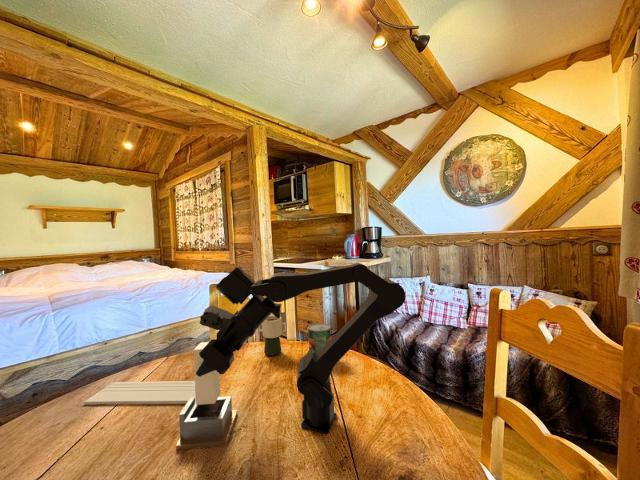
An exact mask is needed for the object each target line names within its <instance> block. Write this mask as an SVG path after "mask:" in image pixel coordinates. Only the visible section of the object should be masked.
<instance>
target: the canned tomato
mask: <svg viewBox="0 0 640 480" xmlns="http://www.w3.org/2000/svg"><path fill="white" fill-rule="evenodd" d="M307 329H308V330H307V331H308V350H309V349H310V348H312V349H313V350H314V351H315V352H316V351H318V350H320V349H322V348H323V347H324V346H325V345H326V344H327V343H328V342H329V341H330V340H331V339H332V336H331V333H332V331H331V325H330V324H328V323H323V322H319V323H318V322H317V323H313V324H310V325H309V326H308V327H307Z"/></svg>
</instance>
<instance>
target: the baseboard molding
mask: <svg viewBox="0 0 640 480" xmlns="http://www.w3.org/2000/svg"><path fill="white" fill-rule="evenodd" d="M191 397H195V401H196V394H195V380H180V381H179V380H174V381H173V380H170V381H169V380H168V381H167V380H166V381H162V380H161V381H115V382H110V383H109V384H108V385H107V386H104V388H103V389H101V390H99V391H98V392H97V393H95V394H93V395H92V396H90V397H89V398H87V399H86V400H85V401H83V404H84V405H85V406H86V405H89V406H90V405H91V406H92V405H95V406H96V405H97V404H98V406H99V405H100V404H107V405H186V404H187V402H188V401H189V399H190V398H191ZM100 406H101V405H100Z"/></svg>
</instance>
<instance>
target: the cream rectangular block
mask: <svg viewBox="0 0 640 480" xmlns="http://www.w3.org/2000/svg"><path fill="white" fill-rule="evenodd" d="M209 342H210V341H206V342H205V341H204V342H202V341H201V342H200V343H198V345H197V346H196V347H195V348H194V349H193V362H194V363H193V366H194V381H195V394H196V405H202V404H215V402H216V400H217V399H218V397H220V394H221V374H219V373H218V372H217V371H216V370H215V371H212V372H210V373H207V374H205V375H202V376H200V377H199V376H198V375H196V372H197V370H198V369H199V367H200V366H201V364H202V362H203V361H204V360H203V359H202V358H201V357H200V355H199V353H200V352H201V351H202V349H203V348H204V347H205V346H206V345H207V344H208V343H209Z"/></svg>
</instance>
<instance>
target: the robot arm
mask: <svg viewBox="0 0 640 480" xmlns="http://www.w3.org/2000/svg"><path fill="white" fill-rule="evenodd" d="M353 283H360V284H361V285H362V286H365V287H366V288H367V289H368V290H370V291H369V292H368V294H367V296H366V299H365V300H364V303H363V305H362V306H361V307H360V308H359V309H358V310H357V312H355V314H353V315H352V316H351V317H350V319H349V320H348V321H347V322H346V323H345V324H344V325H343V326H342V327H341V328H340V330H338V331H337V332H336V334H334V335H333V337H331V340H330V341H329V342H328V343H327V344H326V345H325V346H324V347H323V348H322V349H320V350H318V351H316V352H315V351H314V350H313V349H312V348H310V349H309V348H308V351H307V352H306V353H305V355H303V356H302V357H300V358H299V364H298V365H297V371H296V373H297V374H296V388H297V390H298V392H299V393H300V394H301V395H303V399H302V400H301V401H302V402H301V407H302V408H301V409H302V410H301V411H302V414H301V417H302V419H303V420H302V422H301V425H300V426H301V427H302V428H304V429H308V430H311V431H315V432H318V433H322V434H325V435H326V434H329V433H330V430H331V429H332V426H333V425H334V422H335V421H336V418H337V417H338V414H337V413H336V412H335V397H334V395H335V394H334V392H333V389H332V383H331V377H330V376H331V374H332V372H333V370H334V368H335V366H336V365H337V364H338V363H339V361H340V360H341V359H343V357H344V356H345V355H346V354H347V353H348V352H349V351H350V350H351V349H352V348H354V346H355V345H356V343H357V342H358V341H360V339H361V338H362V337H363V336H364V335H365V334H366V333H367V332H368V331H369V330H370V328H371V327H372V326H373V325H374V324H376V323H377V321H378V320H381V319H383V318H385V317H387V316H390V315H392V313H394V312H395V311H397V310H398V309H400V308H401V307H402V306H403V305H404V303H405V302H406V292H405V289H404V287H403V286H402V285H401V284H399V283H397V282H395V281H393V280H391V279H389V278H382V277H381V276H379V275H378V274H376V273H375V272H373V271H372V270H371V269H369V268H368V266H367V265H365V264H363V263H361V262H355V263H352V264H349V265H342V266H338V267H332V268H327V269H321V270H320V269H319V270H315V271H314V270H313V271H311V272H310V271H309V272H286V271H285V272H283V271H282V272H276V273H274V274H272V275H271V277H270V278H269V277H268V278H264V279H259V280H257V281H255V280H253V279H252V277H250V275H249V274H247V272H245V270H244V269H243V268H242V267H241V266H240V265H239V266H236V267H235V268H234V269H233V270H232V271H231V272H229V273H228V274H227V275H226V276H224V277H223V278H222V279H221V280H220V281H219V282H218V283H217V284H216V286H215V289H216V290H217V291H219V293H221V295H223V296H224V297H225V298H226V299H227V300H228V302H230V303H231V304H233V305H238V304H239V305H242V304H243V303H244V302H245V301H246V300H247V299H248V298H249V297H250V296H251V295H252V297H251V298H250V299H249V300H248V301H247V302H246V303H245V304H244V305H243V307H241V308H240V310H236V311H235V313H232V312H230V311H228V310H226V309H223V308H221V307H218V306H216V305H209V306H208V307H206V308H204V311H203V313H202V315H200V317H199V318H200V320H199V325H201V326H203V327H207V328H210V329H214V330H215V331H216V330H217V332H216V339H210V341H208V342H209V343H208V344H207V345H206V346H205V347H204V348H203V349H202V351H201V352H200V353H199V355H200V357H201V358H202V359H203V360H204V361H203V362H202V364H201V366H200V367H199V369H198V370H197V372H196V375H198V376H199V377H200V376H202V375H205V374H207V373H210V372H212V371H215V370H216V371H217V372H218V373H219V374H220V375H224V374H225V373H226V372H227V371H228V370H229V369H230V368H231V366H232V364H233V363H234V360H235V353H234V352H236V351H237V352H238V351H240V349H242V347H243V345H244V344H245V342H247V341H248V339H249V338H252V337H253V336H254V335H255V333H256V331H258V327H259V326H260V327H261V326H262V325H261V324H262V323H263V322H264V321H265V320H266V319H267V318H268V317H269V316H271V314H272V315H274V316H276V317H277V318H280V316H281V314H282V302H285V301H287V300H291V299H293V298H295V297H298V296H300V295H301V294H304V293H306V292H308V291H309V292H310V291H314V290H319V289H325V288H331V287H336V286H342V285H347V284H353ZM281 317H282V316H281Z"/></svg>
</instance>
